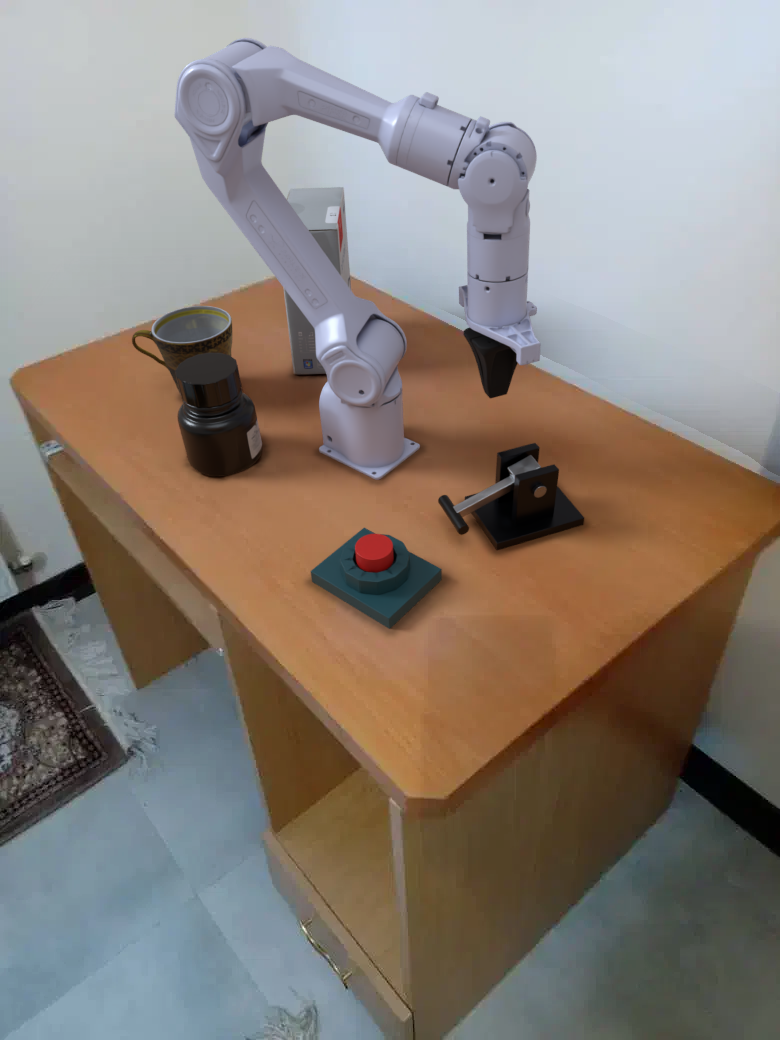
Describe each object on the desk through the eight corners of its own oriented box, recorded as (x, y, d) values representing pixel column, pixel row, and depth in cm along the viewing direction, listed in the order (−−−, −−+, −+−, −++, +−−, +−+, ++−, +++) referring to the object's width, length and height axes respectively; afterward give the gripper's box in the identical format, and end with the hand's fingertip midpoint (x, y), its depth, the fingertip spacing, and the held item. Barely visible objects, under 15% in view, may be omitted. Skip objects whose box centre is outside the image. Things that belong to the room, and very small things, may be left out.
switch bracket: (496, 552, 80) (500, 496, 75) (464, 505, 86) (465, 451, 81) (583, 526, 83) (592, 471, 78) (546, 482, 88) (552, 428, 83)
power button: (348, 562, 76) (347, 548, 74) (373, 541, 78) (371, 528, 76) (377, 578, 74) (376, 565, 73) (401, 557, 76) (400, 543, 75)
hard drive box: (349, 375, 107) (336, 229, 94) (293, 377, 107) (273, 232, 94) (354, 321, 119) (344, 184, 106) (304, 322, 119) (287, 186, 106)
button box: (312, 583, 78) (308, 557, 76) (365, 539, 83) (363, 513, 80) (389, 630, 73) (388, 605, 71) (441, 581, 78) (441, 555, 75)
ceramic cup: (248, 370, 109) (235, 303, 103) (240, 410, 102) (226, 341, 95) (154, 375, 109) (136, 308, 103) (139, 416, 102) (118, 346, 95)
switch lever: (461, 540, 79) (455, 525, 78) (441, 509, 83) (434, 494, 81) (553, 491, 80) (548, 475, 78) (528, 462, 83) (524, 446, 82)
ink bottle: (277, 462, 93) (262, 373, 85) (208, 490, 90) (185, 400, 82) (242, 424, 99) (225, 338, 91) (176, 449, 96) (152, 362, 88)
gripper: (573, 290, 70) (563, 418, 79) (502, 235, 81) (500, 353, 90) (501, 307, 69) (499, 436, 78) (438, 249, 79) (443, 368, 88)
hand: (495, 393), depth 83 cm, fingers closed
